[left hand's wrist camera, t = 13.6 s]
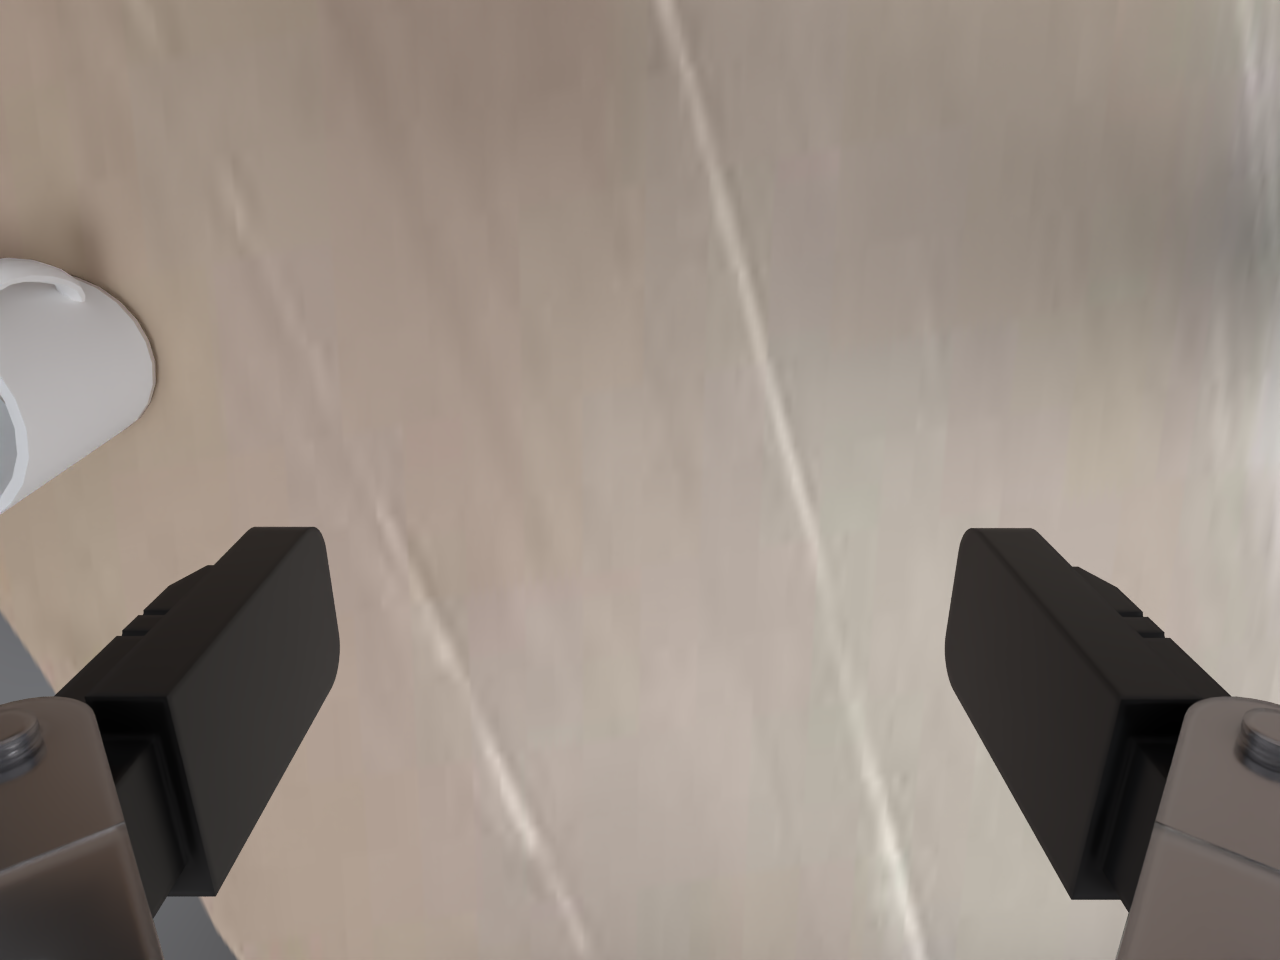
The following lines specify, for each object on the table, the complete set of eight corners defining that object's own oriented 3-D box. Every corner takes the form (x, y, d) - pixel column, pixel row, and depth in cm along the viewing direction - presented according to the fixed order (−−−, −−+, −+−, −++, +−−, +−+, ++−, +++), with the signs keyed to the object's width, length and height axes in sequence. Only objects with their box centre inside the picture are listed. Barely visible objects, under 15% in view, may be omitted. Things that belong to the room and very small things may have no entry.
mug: (129, 476, 44) (-13, 571, 34) (-47, 383, 42) (-248, 457, 33) (213, 292, 40) (81, 341, 31) (25, 183, 39) (-177, 199, 29)
